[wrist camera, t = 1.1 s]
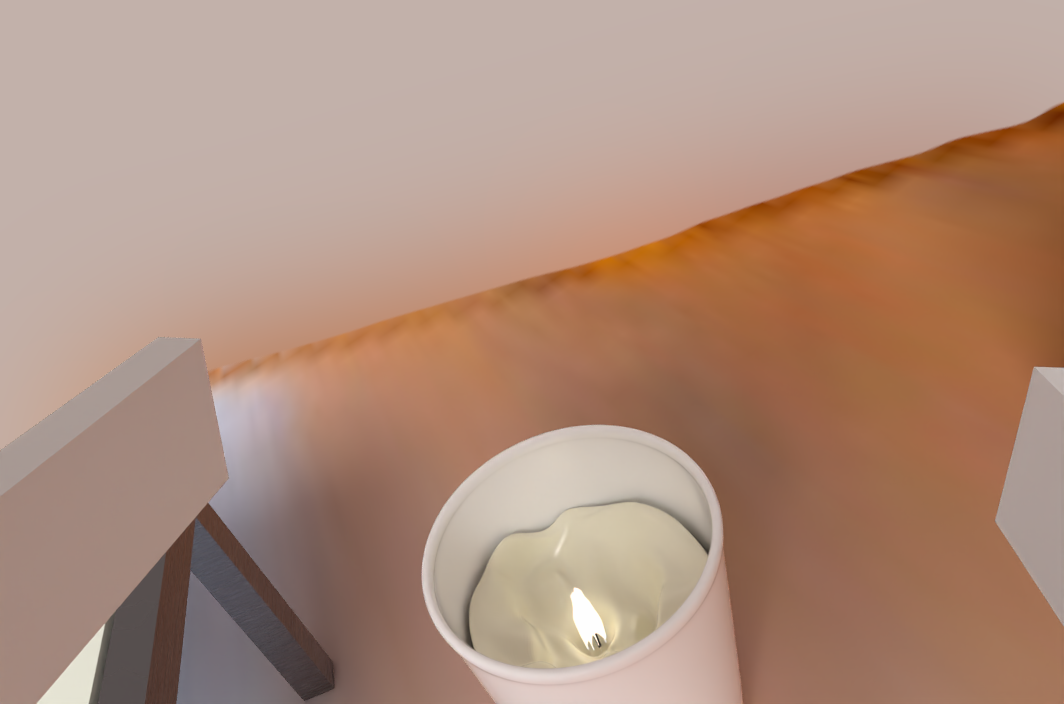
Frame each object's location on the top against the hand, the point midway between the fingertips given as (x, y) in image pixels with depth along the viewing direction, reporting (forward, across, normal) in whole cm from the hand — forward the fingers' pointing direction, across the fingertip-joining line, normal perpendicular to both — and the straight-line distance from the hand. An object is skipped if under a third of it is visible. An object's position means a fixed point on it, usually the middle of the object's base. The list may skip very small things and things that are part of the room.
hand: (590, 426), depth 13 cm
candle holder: (+13, +2, -21) cm, 24 cm away
